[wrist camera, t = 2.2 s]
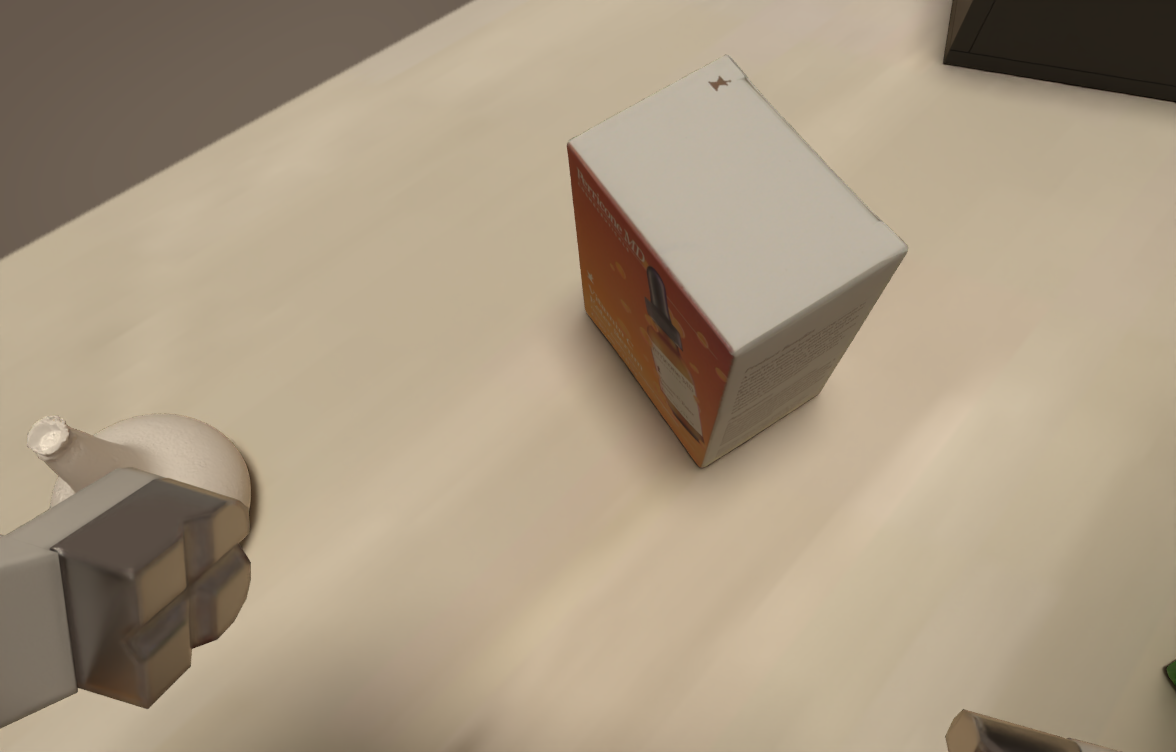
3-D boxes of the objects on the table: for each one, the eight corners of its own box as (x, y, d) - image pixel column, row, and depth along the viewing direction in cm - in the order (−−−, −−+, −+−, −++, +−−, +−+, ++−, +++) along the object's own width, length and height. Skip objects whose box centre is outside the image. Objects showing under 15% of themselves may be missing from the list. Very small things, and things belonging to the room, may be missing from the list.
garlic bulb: (62, 517, 29) (-131, 455, 22) (197, 398, 31) (58, 303, 24) (159, 637, 28) (-16, 614, 20) (298, 505, 29) (182, 438, 22)
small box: (582, 310, 31) (557, 134, 22) (699, 242, 32) (725, 43, 23) (700, 475, 29) (732, 358, 19) (824, 395, 29) (916, 244, 20)
